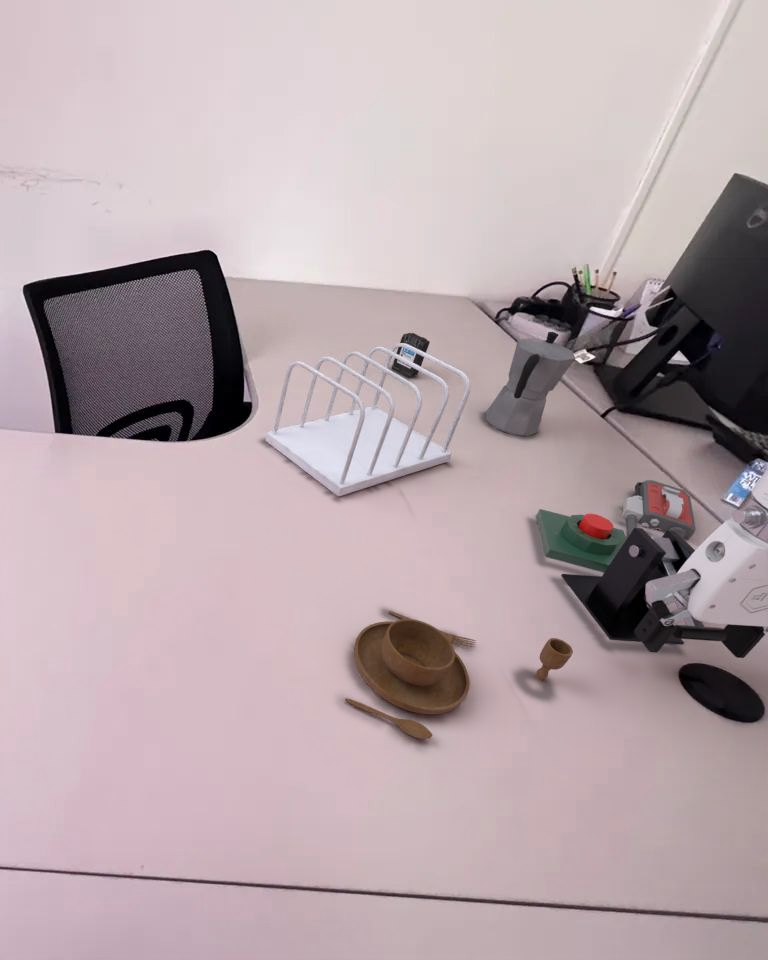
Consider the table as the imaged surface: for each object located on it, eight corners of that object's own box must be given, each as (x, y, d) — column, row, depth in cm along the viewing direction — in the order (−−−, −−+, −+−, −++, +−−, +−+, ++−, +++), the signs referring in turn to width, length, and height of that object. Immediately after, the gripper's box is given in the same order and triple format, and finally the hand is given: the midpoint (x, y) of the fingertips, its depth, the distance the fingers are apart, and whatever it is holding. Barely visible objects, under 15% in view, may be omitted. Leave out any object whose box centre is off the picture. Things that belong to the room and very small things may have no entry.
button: (604, 527, 93) (610, 517, 92) (610, 543, 90) (616, 532, 89) (575, 520, 94) (581, 510, 93) (580, 535, 91) (586, 525, 90)
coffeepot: (496, 403, 131) (536, 315, 121) (547, 422, 126) (593, 332, 116) (467, 428, 122) (508, 335, 111) (521, 450, 117) (569, 354, 106)
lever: (715, 645, 73) (733, 636, 71) (671, 642, 73) (688, 633, 71) (666, 549, 81) (680, 538, 79) (625, 546, 80) (639, 535, 78)
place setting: (371, 601, 82) (386, 565, 79) (550, 677, 75) (575, 640, 71) (330, 701, 69) (346, 664, 66) (542, 805, 62) (572, 768, 58)
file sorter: (370, 414, 123) (397, 334, 114) (448, 463, 111) (485, 378, 102) (263, 440, 112) (284, 353, 103) (337, 498, 100) (368, 406, 91)
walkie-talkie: (618, 485, 110) (618, 548, 96) (632, 462, 107) (634, 524, 93) (681, 505, 107) (691, 574, 92) (697, 482, 104) (710, 550, 90)
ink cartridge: (390, 368, 141) (402, 332, 136) (397, 367, 142) (409, 331, 137) (410, 378, 137) (423, 342, 133) (417, 376, 138) (430, 340, 134)
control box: (615, 541, 97) (629, 520, 95) (632, 586, 89) (648, 563, 87) (533, 520, 99) (545, 498, 97) (542, 561, 92) (556, 539, 89)
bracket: (679, 649, 80) (739, 576, 73) (606, 644, 80) (660, 570, 73) (623, 584, 89) (672, 514, 82) (557, 580, 89) (601, 509, 82)
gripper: (729, 543, 61) (632, 668, 71) (909, 556, 62) (789, 677, 71) (674, 494, 67) (591, 615, 77) (838, 506, 68) (736, 624, 78)
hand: (687, 645), depth 74 cm, fingers open, 9 cm apart
